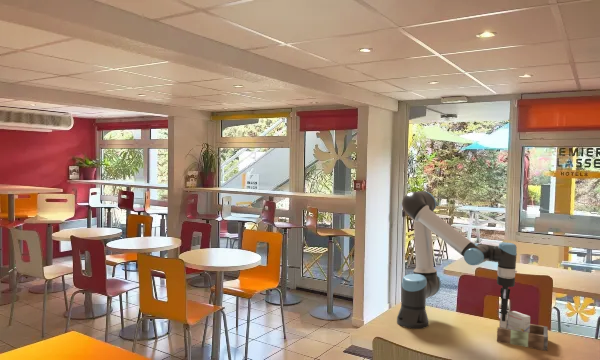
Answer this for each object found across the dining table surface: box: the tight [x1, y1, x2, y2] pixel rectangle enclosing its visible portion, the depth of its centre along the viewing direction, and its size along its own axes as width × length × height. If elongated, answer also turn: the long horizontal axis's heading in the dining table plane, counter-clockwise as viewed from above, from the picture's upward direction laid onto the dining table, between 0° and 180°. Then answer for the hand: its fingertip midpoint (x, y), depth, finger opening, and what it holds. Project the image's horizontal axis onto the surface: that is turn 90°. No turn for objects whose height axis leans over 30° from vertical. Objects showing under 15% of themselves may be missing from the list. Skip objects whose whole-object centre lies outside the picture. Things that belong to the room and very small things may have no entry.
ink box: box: [507, 310, 531, 333], centre depth 210 cm, size 9×5×12 cm, turn 30°
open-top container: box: [496, 323, 549, 352], centre depth 209 cm, size 20×15×6 cm
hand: (503, 327), depth 213 cm, fingers closed
